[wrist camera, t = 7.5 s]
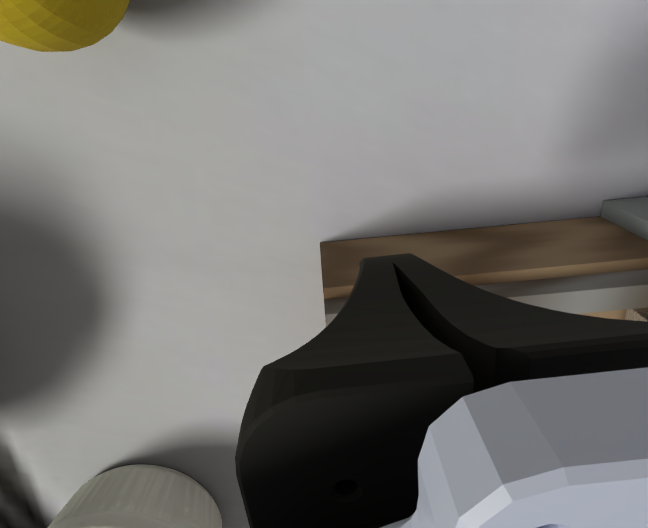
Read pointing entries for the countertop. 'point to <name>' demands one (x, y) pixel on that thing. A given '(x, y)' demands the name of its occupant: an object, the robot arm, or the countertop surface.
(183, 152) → the countertop surface
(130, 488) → the ramekin
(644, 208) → the grey open tray
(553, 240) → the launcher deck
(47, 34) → the lemon
